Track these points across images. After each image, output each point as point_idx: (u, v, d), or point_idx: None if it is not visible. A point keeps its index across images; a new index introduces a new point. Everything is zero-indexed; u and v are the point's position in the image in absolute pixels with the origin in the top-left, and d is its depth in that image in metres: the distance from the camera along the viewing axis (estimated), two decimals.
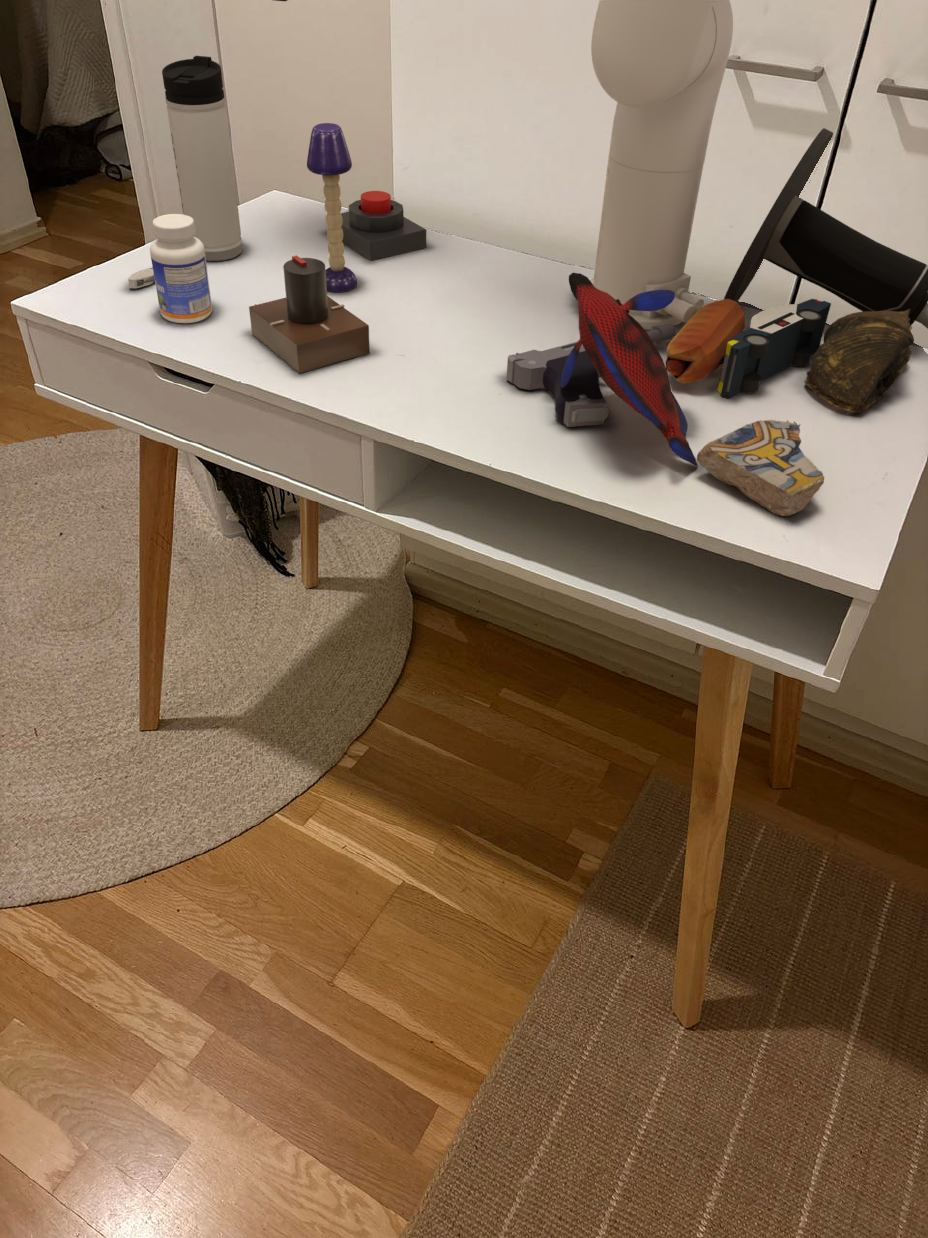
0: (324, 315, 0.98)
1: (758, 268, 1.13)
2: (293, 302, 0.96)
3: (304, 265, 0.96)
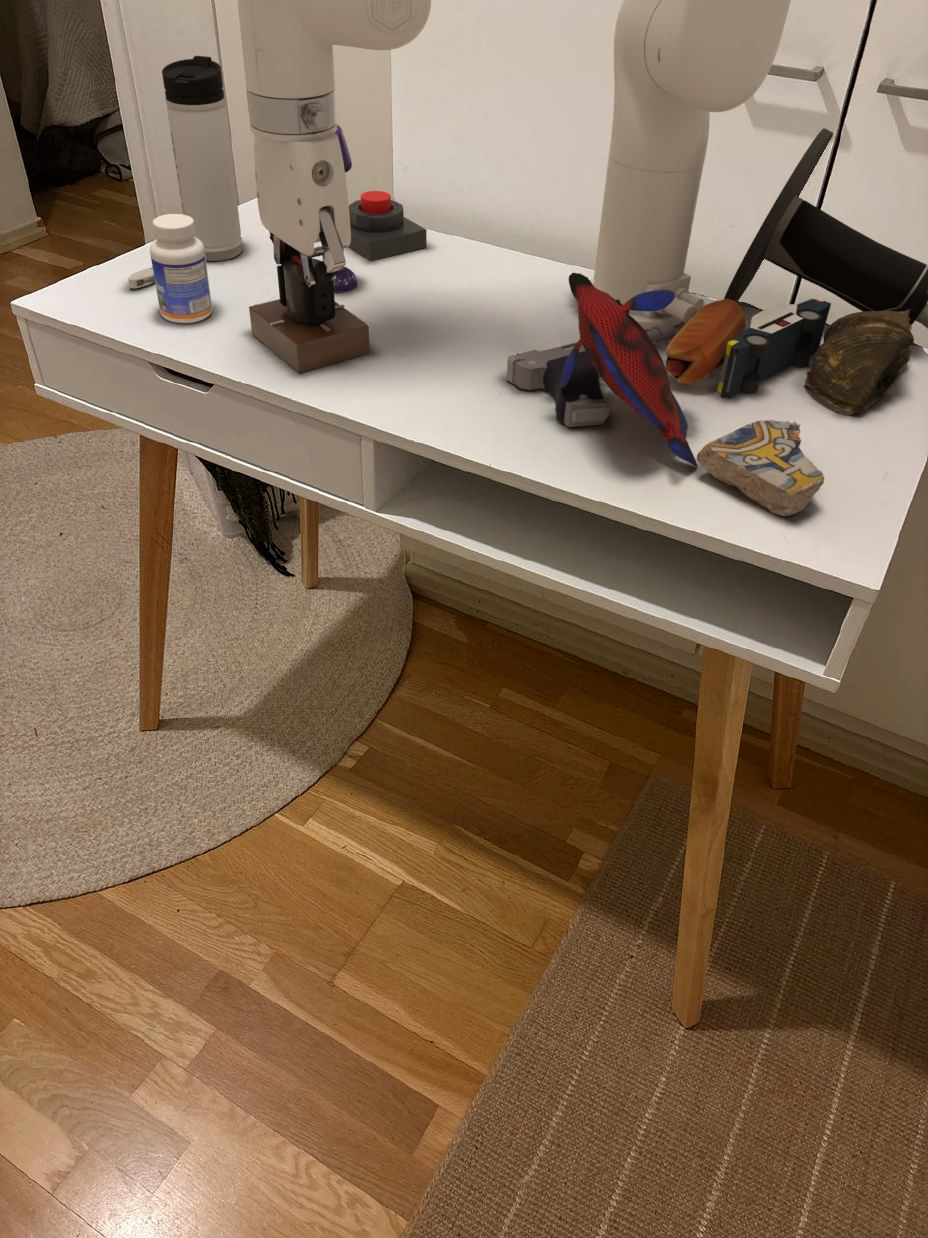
0: None
1: (758, 268, 1.13)
2: (293, 302, 0.96)
3: None
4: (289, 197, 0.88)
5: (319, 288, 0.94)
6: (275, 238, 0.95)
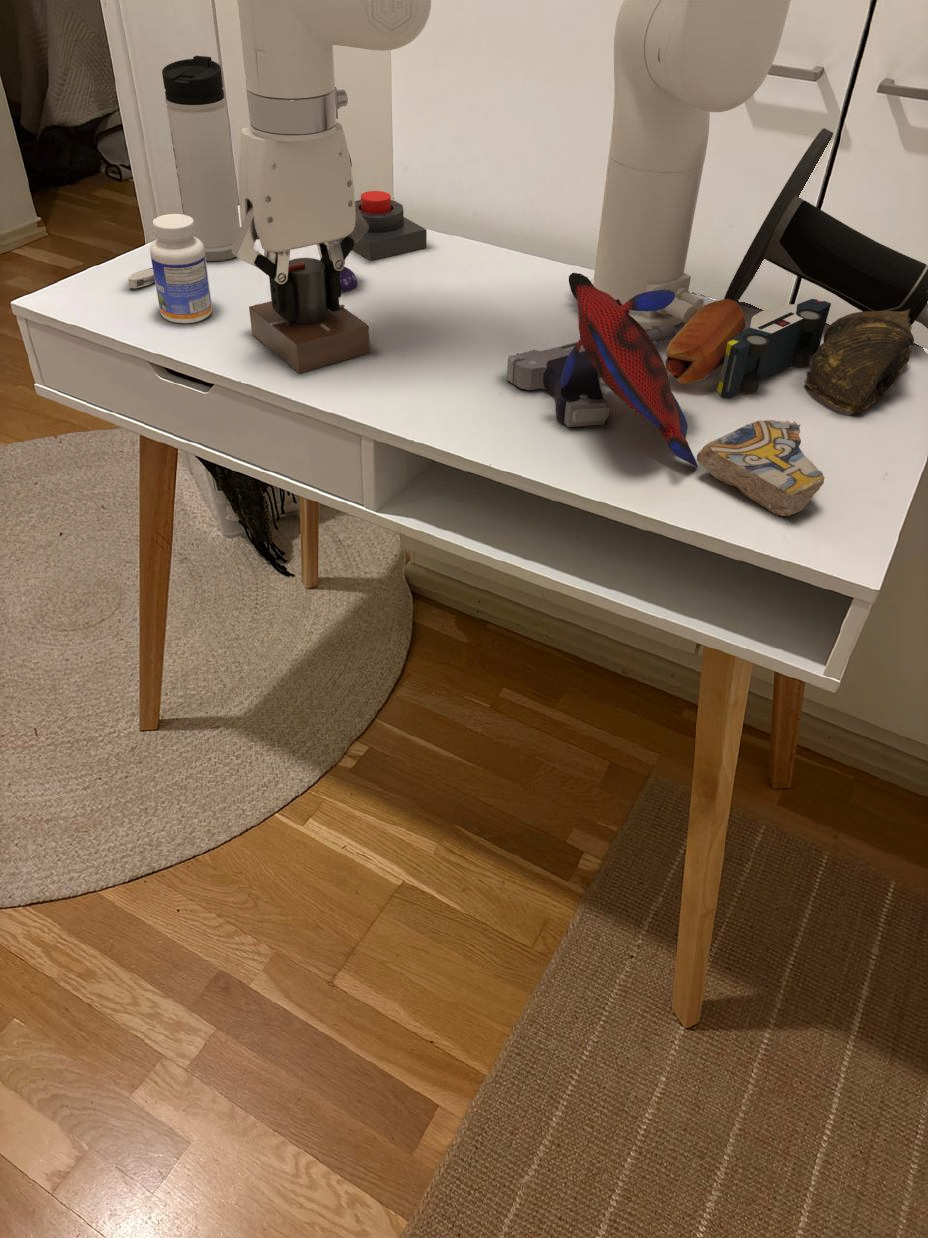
0: None
1: (758, 268, 1.13)
2: (322, 300, 0.97)
3: (303, 265, 0.96)
4: (336, 186, 0.90)
5: None
6: (282, 256, 0.92)
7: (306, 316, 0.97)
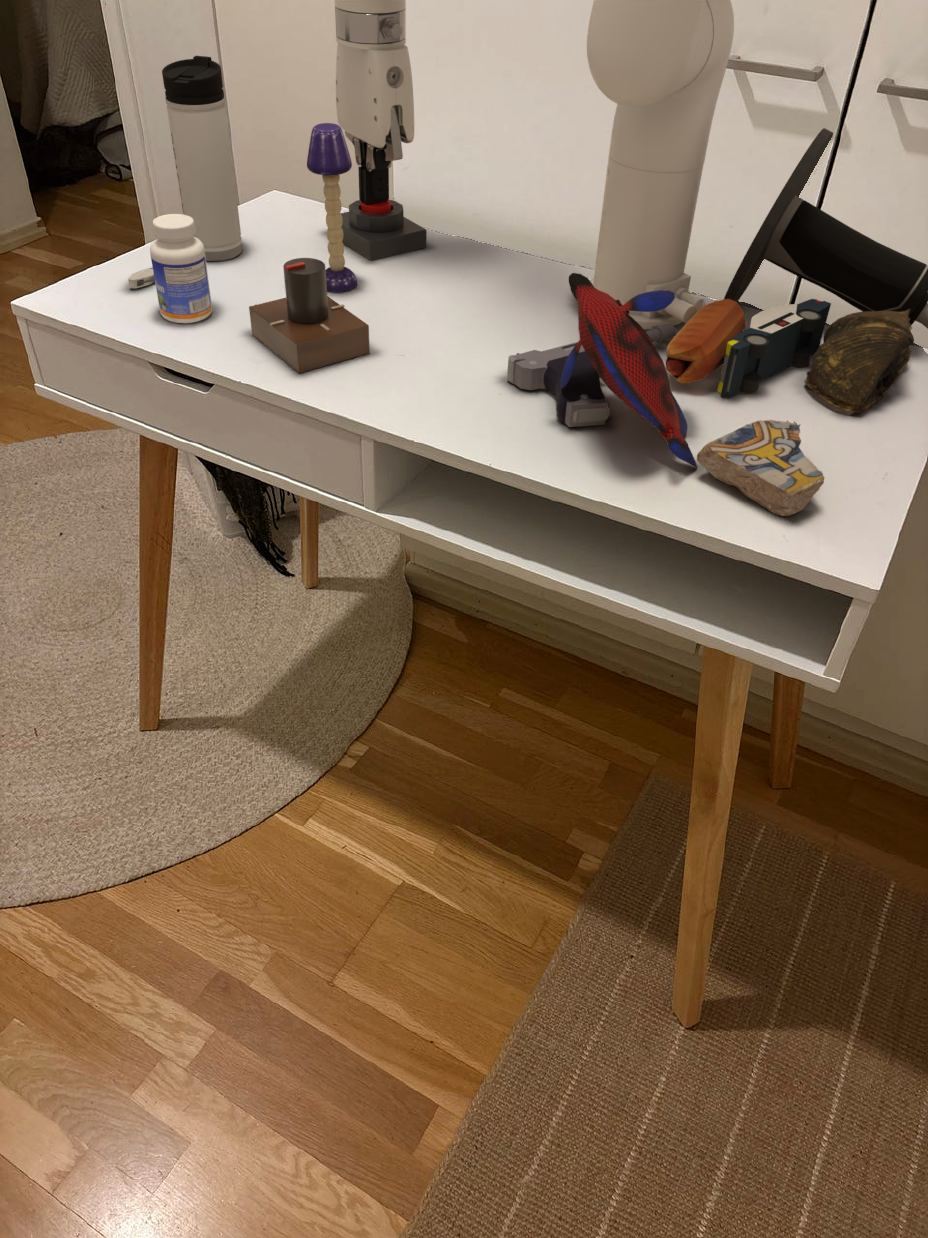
0: None
1: (758, 268, 1.13)
2: (322, 300, 0.97)
3: (303, 265, 0.96)
4: (366, 97, 1.08)
5: (377, 173, 1.16)
6: (358, 142, 1.15)
7: (306, 316, 0.97)
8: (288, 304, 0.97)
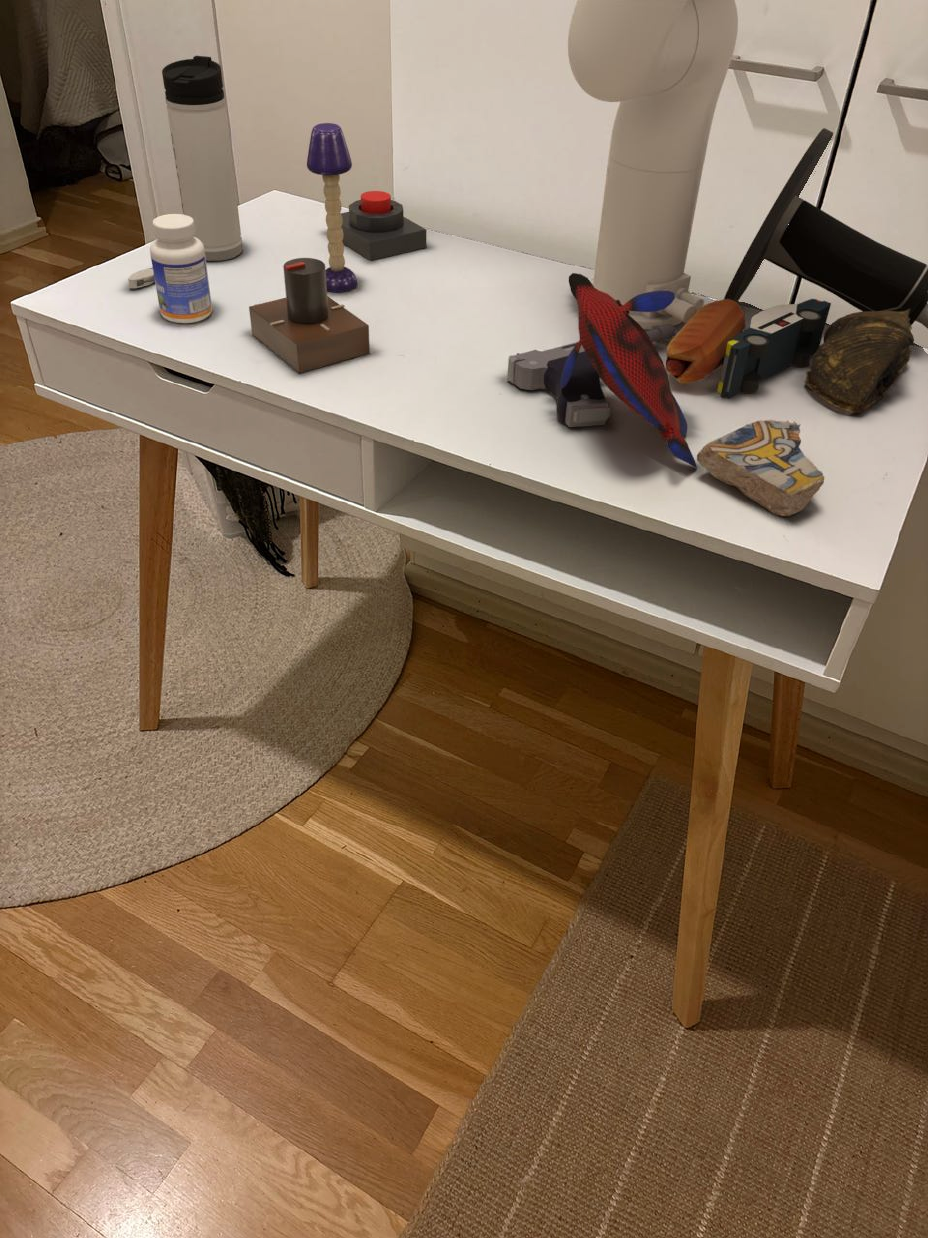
0: None
1: (758, 268, 1.13)
2: (322, 300, 0.97)
3: (303, 265, 0.96)
4: None
5: None
6: None
7: (306, 316, 0.97)
8: (288, 304, 0.97)
